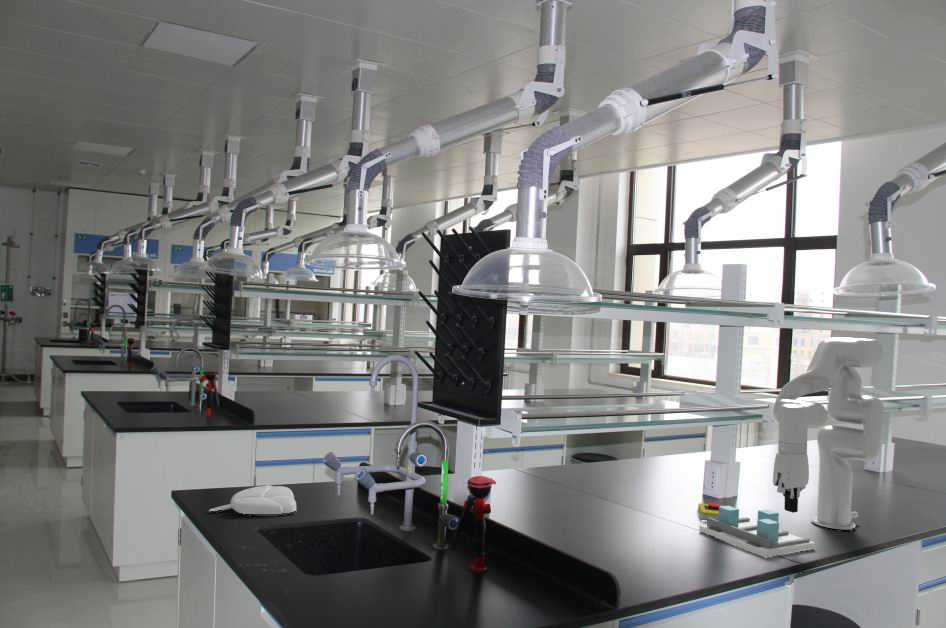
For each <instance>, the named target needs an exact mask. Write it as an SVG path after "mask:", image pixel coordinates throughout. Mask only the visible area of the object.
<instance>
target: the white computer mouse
mask: <svg viewBox="0 0 946 628" xmlns="http://www.w3.org/2000/svg"><path fill="white" fill-rule="evenodd" d="M230 509H233V510H234V511H235V512H237V513H239V514H241V513H242V515H245V514H282V513H290V512H294V511H296V512H297V501H296V500H295V495H294V493H293V491H292V490H291V489H290V488H289V487H287V486H284V485H283V486H282V485H277V486H273V485H261V486H254V487H250V488H246V489H243V490H240V491H238V492H236V493H235V494H233V495H232V497H231V499H230V503H229V504H225V505H221V506H217V507H214V508H211V509H210V508H209V511H208V512H210V511H218V510H222V511H228V510H230Z"/></svg>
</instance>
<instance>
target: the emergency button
mask: <svg viewBox="0 0 946 628" xmlns="http://www.w3.org/2000/svg"><path fill="white" fill-rule="evenodd" d="M722 506H723V505H721V504H719V503H715V502H713V503H712V502H709V503H703V502H701V503H698V507H697V510H698V511H697V514H698V513H699V514H698V517H699V516H700V517H699V519H700V518H701V520H707V518H712V519H715V520H718V516H719V507H722ZM701 520H700V521H701Z"/></svg>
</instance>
